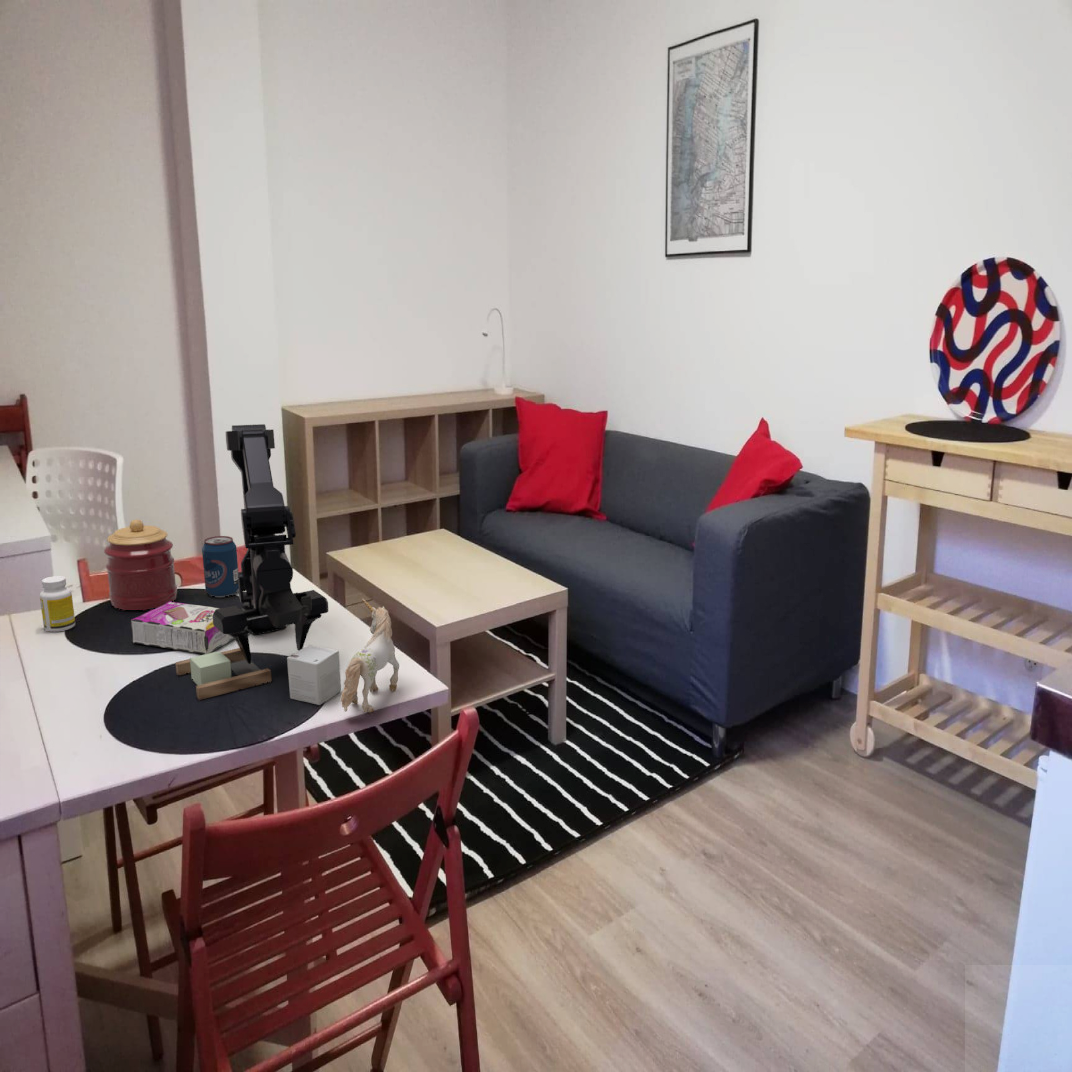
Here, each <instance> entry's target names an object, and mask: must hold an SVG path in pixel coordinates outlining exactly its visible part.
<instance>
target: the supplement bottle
mask: <svg viewBox="0 0 1072 1072" xmlns="http://www.w3.org/2000/svg"><path fill="white" fill-rule="evenodd" d="M41 585H42V588H43V589H42V590H41V592H40V593H39V600H40V609H41V616H42V624H43V628H44V631H47V632H52V633H54V632H55V633H56V632H58V633H59V632H64V631H67V630H70V629H72V628H74V627H75V626H76V616H75V609H74V602H73V594H72V591H71V588H70V587H67V579H66V577H65V576H63V575H53V576H48V577H44V578H43V579H42V580H41Z"/></svg>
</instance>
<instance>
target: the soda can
mask: <svg viewBox="0 0 1072 1072" xmlns="http://www.w3.org/2000/svg"><path fill="white" fill-rule="evenodd" d="M203 542H204V543H203V545H202V548H201V553H202V554H201V555H202V563H203V564H202V566H203V574H204V575H203V577H204V587H205V591H206V593H207V594H208V595H209V596H210V595H211V596H210V597H212V596H215V597H214V598H226V597H225V596H228V597H230V596H229V595H232V596H234V595H236V594H237V592H238V591H239V590H238V572H239V564H238V550H237V544H236V543H235V541H234V539H233V537H231V536H229V535H228V536H227V535H217V536H216V535H215V536H211V537H207V538H205V539H204V540H203Z"/></svg>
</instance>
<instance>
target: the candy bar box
mask: <svg viewBox="0 0 1072 1072" xmlns="http://www.w3.org/2000/svg"><path fill="white" fill-rule="evenodd" d="M221 608H222V607H221ZM221 608H220V607H213V606H207V605H206V606H205V605H198V604H192V603H186V602H185V603H184V602H183V603H182V602H176V601H173V602H172V601H170V602H168V603H166V604H164V605H161V606H159V607H157V608H155V609H150V610H148V611H147V612H145V613H143V614H140V615H139V616H137V617H134V618H132V619H131V620H130V627H131V633H132V634H131V635H132V642H133V644H138V645H144V646H151V647H157V648H164V649H170V650H171V649H172V650H178V651H182V652H183V651H184V652H188V653H189V652H190V653H196V654H202V655H205V654H209V653H213V652H215V651H216V650H217V649H220V648H221V647H223V646H225V645H226V644H228V643H229V642H232V641H233V640H235V638H234V637H231V636H230V635H229V634H223V633H222V632H221V631H220V630H218V629H217V628H216V627H215V626H214V625H213V617H212V616H213V613H214V612H215V610H216V609H221Z"/></svg>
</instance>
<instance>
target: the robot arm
mask: <svg viewBox="0 0 1072 1072" xmlns="http://www.w3.org/2000/svg"><path fill="white" fill-rule="evenodd" d="M225 444H226V450H227V452H228V451H229V452H230V457H231V460H232V462H233V463H234V465H235V466H236V467H237V469H238V470H239V472H240V473H241V484H242V485H241V486H242V494H243V495H242V497H243V508H241V509H240V517H241V520H240V521H241V528H242V533H243V534H242V535H243V541H244V547H245V549H247V551H246V552H245V553H244V556H243V558H242V560H241V562H240V569H241V570H240V571H238V590H237V591H238V597H239V598H238V599H239V601H240V604H243V605H242V606H241V609H240V608H239V607H238V606H237V605H231V606H227V607H221V609H216V610H215V612H214V613H213V616H212V617H213V625H214V626H215V627H216V628H217V629H218V630H220V631H221V632H222V633H223V634H229V635H230V636H231V637H234V638H235V639H234V640H235V641H236V644H237V646H238V648H240V649H241V651H242V653H243V655H244V657H245V659H246V661H247V663H248V664H251V661H252V654H251V647H250V641H249V635H250V634H252V635H254V636H257V635H262V634H266V633H270V632H276V631H279V630H284V629H286V628H287V626H290V625H294V633H295V637H294V638H295V643H296V650H297V652H298V651H299V650H301V649H303V648H304V645H305V642H306V639H307V636H308V633H309V630H310V628H311V626H312V624H313V623H314V622H316V620H317V619H318V620H319V619H320V618H321V617H322V615H323V614H327V613H328V612H329V602H328V599H327V598H326V597H325V596H323V595H322V594H321V593H319V592H318V591H316V590H314V589H311V590H305V591H301V592H293V590H292V585H291V582H292V580H293V577H294V570H293V567H292V565H291V563H290V561H289V558H288V555H287V554H286V546H290V545H294V539H295V538H296V535H297V534H296V528H295V522H294V515H293V511H291V508H290V507H289V505H285V500H284V495H283V493H282V492H281V491H280V490H278V489H277V488H276V487H275V486H274V482H273V477H272V470H271V464H270V458H271V456H272V452H271V450H273V449H275V448H276V445H275V431H274V429H267V427H266V424H264V423H263V424H239V425H231V430H229V431H228V430H227V431H225ZM285 532H286V534H284V533H285Z"/></svg>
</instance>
